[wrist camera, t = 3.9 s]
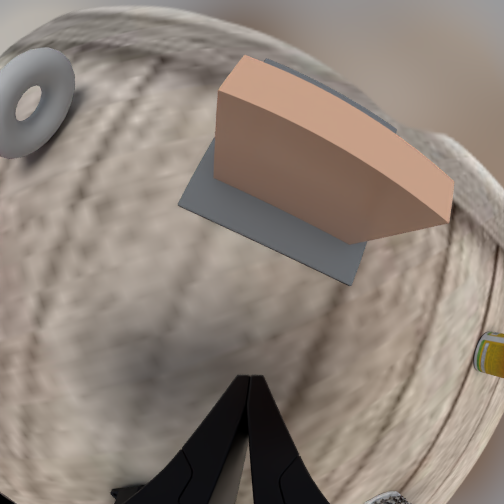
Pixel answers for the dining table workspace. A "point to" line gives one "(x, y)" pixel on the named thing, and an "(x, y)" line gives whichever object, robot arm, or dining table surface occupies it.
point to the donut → (49, 108)
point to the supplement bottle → (490, 354)
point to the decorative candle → (388, 499)
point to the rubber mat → (274, 213)
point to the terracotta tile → (322, 158)
